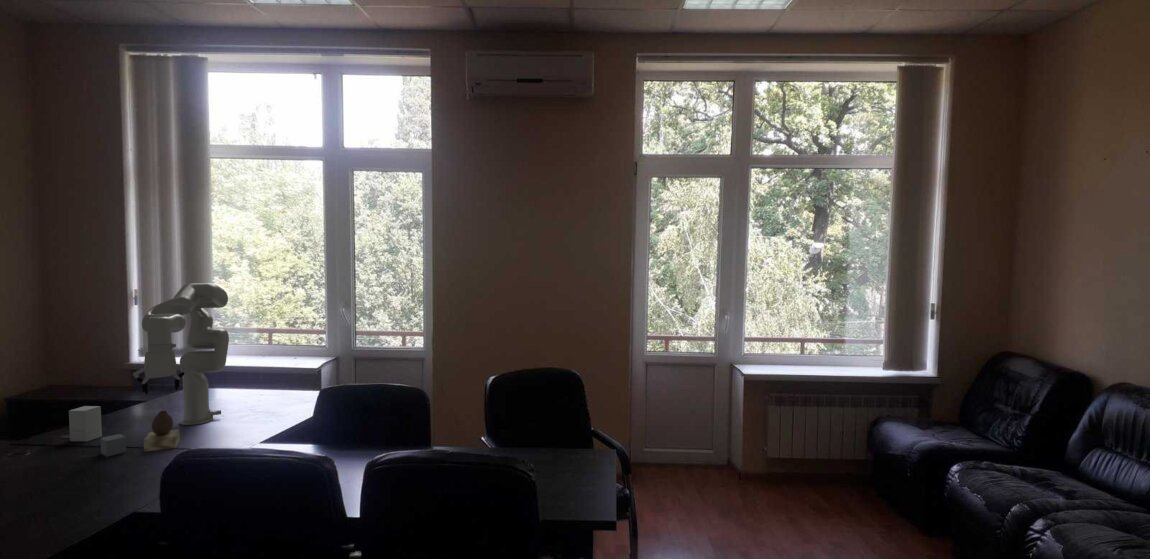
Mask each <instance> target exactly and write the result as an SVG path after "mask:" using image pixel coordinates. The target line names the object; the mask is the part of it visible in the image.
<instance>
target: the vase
mask: <svg viewBox="0 0 1150 559" xmlns="http://www.w3.org/2000/svg"><path fill="white" fill-rule="evenodd" d="M173 427H174V420H173V417H172V416H171V415H170V414H169V413H168V412H167V410H160V411H159V412H158V413H157V414H156V415H155V417H154V418H153V419H152V422H151V432H154V433H155V434H156V435H164V434H168V433H169V432H170V431H171V430H173Z"/></svg>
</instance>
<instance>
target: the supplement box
mask: <svg viewBox="0 0 1150 559" xmlns="http://www.w3.org/2000/svg"><path fill="white" fill-rule="evenodd" d="M101 409H102V408H101V406H100V405H99V406H98V405H93V406H92V405H83V406H80V407H77V408H74V409H73V408H72V409H70V410H68V421H69V422H68V423H69V424H68V425H69V441H70V442H90V441H93V440H95V439H98V438H102V436H103V432H102V431H103V430H102V410H101Z"/></svg>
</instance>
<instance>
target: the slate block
mask: <svg viewBox="0 0 1150 559" xmlns="http://www.w3.org/2000/svg"><path fill="white" fill-rule="evenodd" d="M126 440H127V438H126V436H125V435H124V434H121V433H118V434H114V435H109V436H104V437H100V454H101V455H103V456H105V457H111V456H115V455H119V454H124V453H127V442H126Z"/></svg>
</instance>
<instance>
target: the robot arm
mask: <svg viewBox="0 0 1150 559" xmlns="http://www.w3.org/2000/svg"><path fill="white" fill-rule="evenodd" d="M228 302H229V296H228V293H227V291H226V290H225V289H223V288H222V287H221V286H219V285H217V284H216V283H213V282H190V283H186V284H183V286H181V287H180V288H179V290H178V291H177V292H176V294H175V295H174V296H173V297H172V298H171V299H168V300H166V301H163V302H161V303H158V304H156V305H154V306H152V307H151V308H150V309H149V310H147V312H146V313H145V315H144V316H143V318H142V321H141V328H142V329H143V331H144V332H146V336H147V352H145V354H144V364H143V367H142V368H140V369H138V370H136V371H135V372H133V373H132V376H133V377H134V378H135V379H136V381H137V382H139V383H140V384H141V385H142V386H141V387H142V389H141V390H142V393H144V395H147V394H148V383H147V382H148V381H149V379H156V378H157V379H158V378H168V377H173V378H174V383H173V384H174V390H175V391H178V389H179V388H180V380H181V378H182V388H183V389H182V391H183V392H182V395H183V398H182V399H183V418H182V419H180V420H179V424H180V425H183V426H197V425H201V424H207V423H209V422H212V421H213V420H214V416H216V415H217V416H218V415H222V409H220V410H217V409H215V410H211V409H210V406H209V405H210V403H209V402H210V399H209V394H210V393H209V392H210V390H209V381H208V380H209V379H208V378H207V377H206V375H205V374H204V373H219V372H222V371H224V369H225V367H226V363H227V357H228V350H229V344H230V337H229V333H228V331H227V329H225V328H220V327H219V328H218V327H215V328H213V324H214V322H213V321H214V318H213V316H212V315H211V314H210V312H208V310H206V309H222V308H224V307H225V306H227V304H228ZM187 314H189V316H190V324H189V331H188V338H187V345H188V347H189V349H192V350H193V351H188V352H185V353H183V354H182V355H181V356H180V359H179V364H177V359H176V353H175V351H174V348H176V347H177V344H176V343H172V334H173V333H179V332H181V331H183V329H185V327H186V323H187V321H186V318H185V317H184V316H185V315H187ZM195 350H199V351H195ZM204 350H205V351H204ZM177 369H179V370H181V371H180V373H179V374H178V373H177V371H178V370H177ZM142 373H143V374H144V377H143V378H142V377H141V376H139V375H140V374H142Z"/></svg>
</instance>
